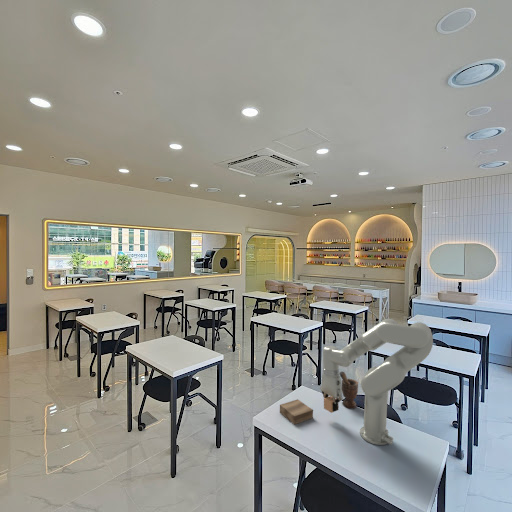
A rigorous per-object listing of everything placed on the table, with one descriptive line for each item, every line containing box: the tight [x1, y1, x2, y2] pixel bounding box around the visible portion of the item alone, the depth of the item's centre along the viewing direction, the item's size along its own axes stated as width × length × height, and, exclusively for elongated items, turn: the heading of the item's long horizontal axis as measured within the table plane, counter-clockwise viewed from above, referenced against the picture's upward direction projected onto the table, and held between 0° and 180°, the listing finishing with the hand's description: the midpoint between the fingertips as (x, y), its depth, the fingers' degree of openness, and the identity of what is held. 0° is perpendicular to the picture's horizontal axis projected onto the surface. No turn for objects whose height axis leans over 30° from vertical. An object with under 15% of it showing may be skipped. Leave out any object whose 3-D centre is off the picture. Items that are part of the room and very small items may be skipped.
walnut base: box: [279, 398, 314, 425], centre depth 149 cm, size 12×12×4 cm
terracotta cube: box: [323, 395, 336, 414], centre depth 145 cm, size 5×5×5 cm
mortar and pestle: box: [339, 371, 359, 409], centre depth 159 cm, size 12×9×20 cm
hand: (331, 407), depth 145 cm, fingers closed on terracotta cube, 5 cm apart
